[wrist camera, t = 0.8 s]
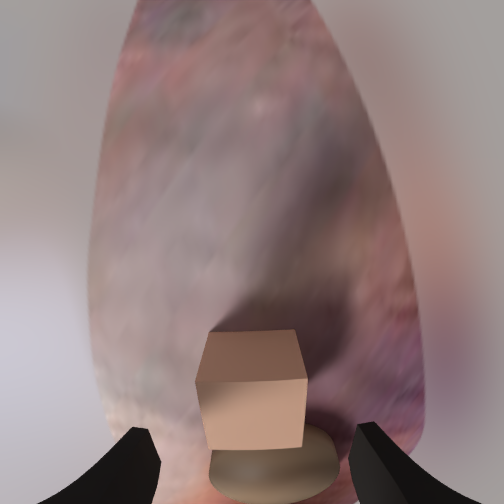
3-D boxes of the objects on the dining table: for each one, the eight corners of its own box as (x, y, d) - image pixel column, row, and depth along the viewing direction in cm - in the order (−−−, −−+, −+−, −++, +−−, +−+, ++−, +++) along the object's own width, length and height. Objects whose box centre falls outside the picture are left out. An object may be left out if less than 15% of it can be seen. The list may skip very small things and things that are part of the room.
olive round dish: (326, 480, 17) (330, 499, 15) (219, 485, 17) (217, 505, 15) (341, 410, 15) (349, 433, 13) (204, 417, 15) (199, 441, 13)
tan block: (292, 392, 15) (301, 447, 11) (217, 395, 15) (208, 449, 11) (294, 328, 14) (307, 378, 10) (209, 331, 14) (195, 381, 10)
